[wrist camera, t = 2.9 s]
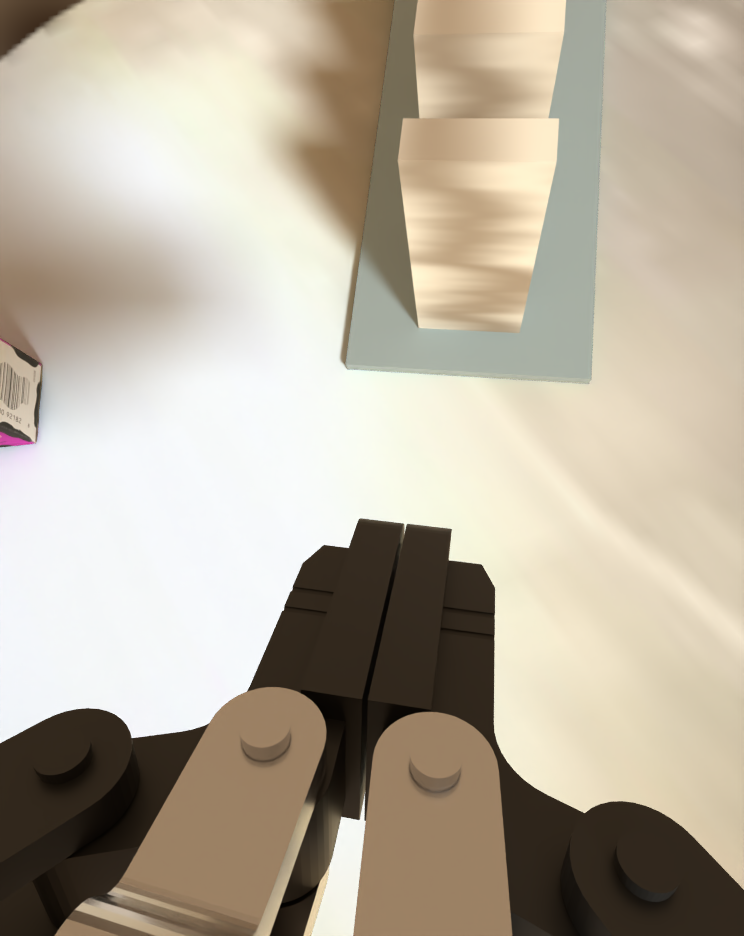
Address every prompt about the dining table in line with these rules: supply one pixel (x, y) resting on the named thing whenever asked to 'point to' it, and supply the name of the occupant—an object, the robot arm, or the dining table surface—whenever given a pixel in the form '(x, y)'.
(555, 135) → the domino
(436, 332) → the domino board
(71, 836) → the robot arm
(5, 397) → the candy bar box
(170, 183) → the dining table surface
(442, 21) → the domino
